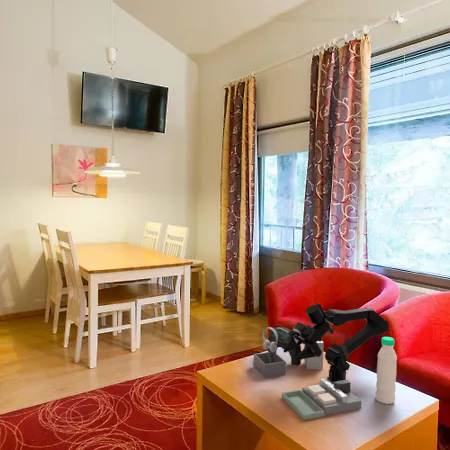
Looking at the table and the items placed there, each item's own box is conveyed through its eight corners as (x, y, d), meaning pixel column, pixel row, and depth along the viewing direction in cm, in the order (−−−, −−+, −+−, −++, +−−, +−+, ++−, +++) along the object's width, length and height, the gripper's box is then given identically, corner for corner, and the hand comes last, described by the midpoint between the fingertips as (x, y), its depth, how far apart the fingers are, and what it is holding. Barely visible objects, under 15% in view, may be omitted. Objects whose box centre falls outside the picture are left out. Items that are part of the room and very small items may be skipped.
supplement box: (323, 369, 185) (324, 343, 184) (307, 369, 185) (307, 342, 184) (319, 363, 192) (320, 337, 191) (304, 362, 193) (304, 336, 192)
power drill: (305, 365, 190) (306, 323, 188) (297, 369, 185) (298, 326, 184) (272, 352, 204) (273, 314, 203) (264, 356, 200) (265, 316, 198)
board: (335, 388, 167) (336, 381, 167) (361, 408, 152) (361, 400, 152) (302, 394, 162) (302, 387, 162) (324, 415, 147) (325, 407, 147)
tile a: (318, 387, 162) (318, 384, 162) (325, 393, 157) (325, 390, 157) (307, 389, 160) (307, 386, 160) (314, 395, 155) (314, 392, 155)
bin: (300, 394, 162) (300, 389, 162) (324, 416, 146) (324, 411, 146) (281, 397, 159) (281, 392, 159) (304, 420, 143) (304, 415, 143)
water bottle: (393, 406, 154) (396, 343, 152) (373, 401, 157) (376, 339, 155) (396, 398, 160) (399, 337, 158) (377, 393, 163) (380, 333, 161)
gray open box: (273, 363, 191) (273, 351, 190) (285, 374, 179) (285, 361, 179) (253, 366, 187) (253, 354, 187) (264, 378, 176) (265, 364, 175)
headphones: (259, 369, 185) (260, 326, 183) (264, 366, 188) (265, 324, 186) (273, 374, 179) (274, 331, 177) (279, 372, 182) (280, 329, 180)
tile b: (328, 395, 155) (328, 392, 155) (335, 402, 150) (336, 399, 150) (316, 397, 153) (317, 394, 153) (324, 404, 149) (324, 401, 149)
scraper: (336, 382, 166) (337, 372, 166) (360, 399, 152) (361, 389, 152) (320, 385, 164) (320, 375, 163) (342, 403, 150) (343, 393, 149)
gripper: (296, 311, 175) (269, 333, 171) (321, 323, 158) (291, 348, 154) (308, 331, 178) (281, 353, 174) (334, 344, 160) (305, 370, 156)
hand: (289, 355), depth 164 cm, fingers open, 9 cm apart
